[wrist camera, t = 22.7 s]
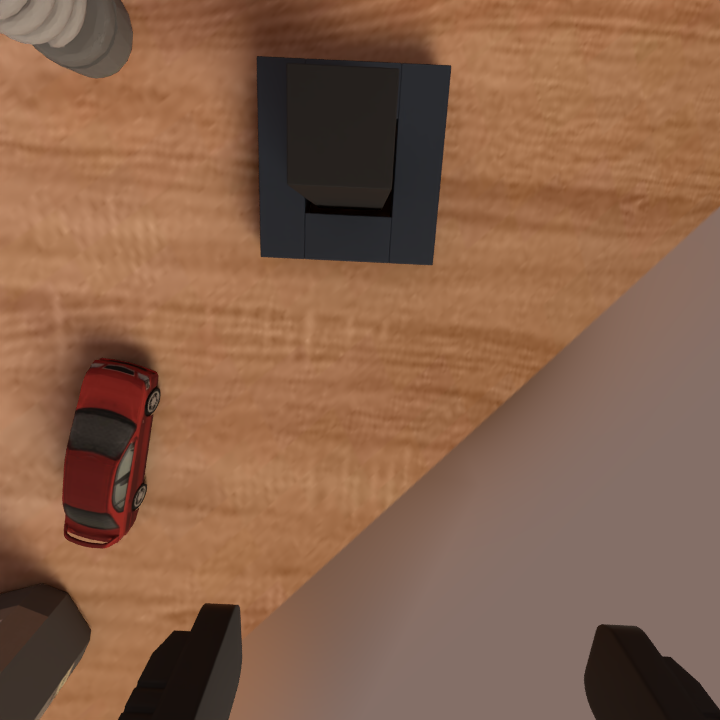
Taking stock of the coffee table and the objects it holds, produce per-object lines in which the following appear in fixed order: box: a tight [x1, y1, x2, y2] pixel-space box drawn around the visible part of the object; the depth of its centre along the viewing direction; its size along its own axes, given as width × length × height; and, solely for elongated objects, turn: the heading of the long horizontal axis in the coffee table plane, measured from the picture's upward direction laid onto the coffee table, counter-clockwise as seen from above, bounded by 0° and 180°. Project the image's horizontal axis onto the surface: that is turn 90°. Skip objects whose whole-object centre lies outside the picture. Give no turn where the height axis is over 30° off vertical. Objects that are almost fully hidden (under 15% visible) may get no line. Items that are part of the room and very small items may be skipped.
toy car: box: [62, 358, 160, 548], centre depth 32 cm, size 6×15×5 cm, turn 161°
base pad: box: [257, 56, 451, 265], centre depth 27 cm, size 12×12×2 cm
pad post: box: [286, 63, 399, 210], centre depth 23 cm, size 5×5×12 cm
